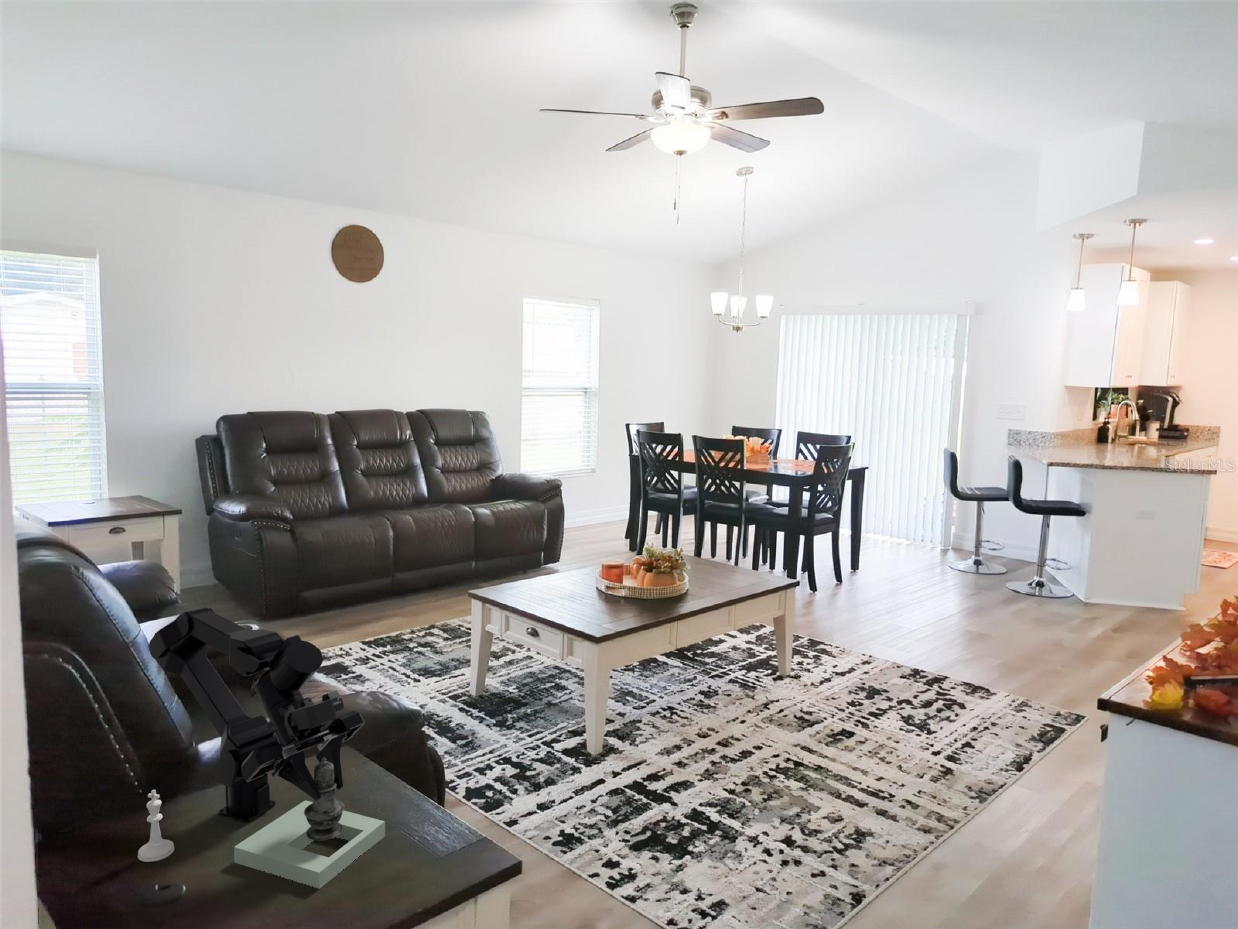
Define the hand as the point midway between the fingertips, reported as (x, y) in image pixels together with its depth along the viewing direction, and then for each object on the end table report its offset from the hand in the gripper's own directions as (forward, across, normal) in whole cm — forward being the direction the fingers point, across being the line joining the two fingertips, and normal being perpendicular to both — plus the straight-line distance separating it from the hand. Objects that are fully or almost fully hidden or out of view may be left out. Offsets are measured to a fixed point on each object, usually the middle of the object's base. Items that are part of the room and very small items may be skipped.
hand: (329, 793), depth 129 cm
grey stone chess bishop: (+4, 0, +6) cm, 7 cm away
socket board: (+4, -1, +10) cm, 11 cm away
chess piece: (-8, -15, +23) cm, 29 cm away
